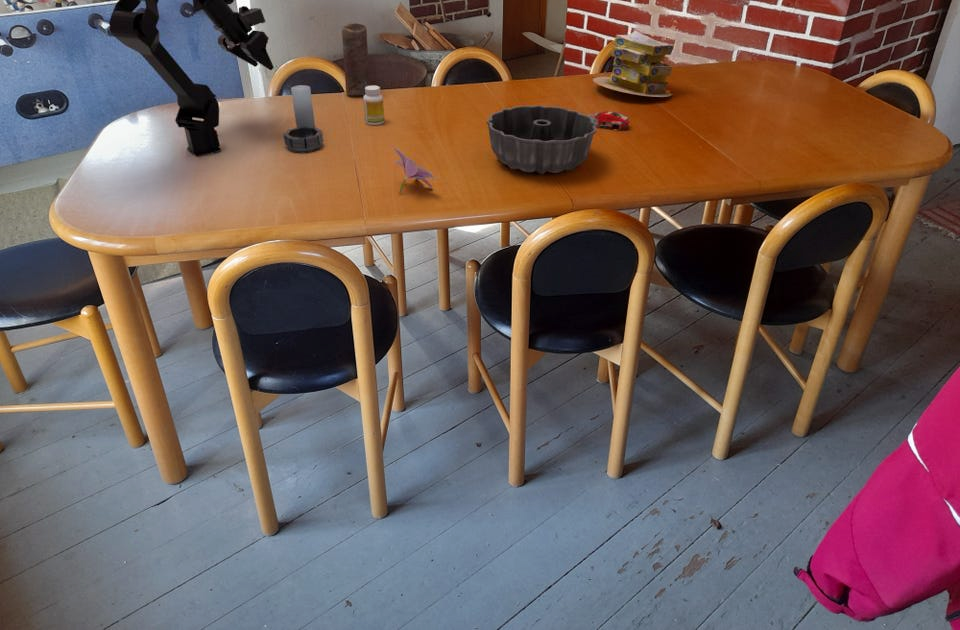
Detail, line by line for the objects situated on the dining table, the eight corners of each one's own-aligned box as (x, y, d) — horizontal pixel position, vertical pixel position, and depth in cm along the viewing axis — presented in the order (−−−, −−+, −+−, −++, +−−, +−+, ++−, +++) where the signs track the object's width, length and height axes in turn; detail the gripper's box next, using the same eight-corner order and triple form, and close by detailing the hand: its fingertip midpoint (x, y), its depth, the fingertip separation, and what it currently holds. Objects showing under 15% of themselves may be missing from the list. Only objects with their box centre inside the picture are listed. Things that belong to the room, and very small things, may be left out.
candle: (373, 91, 217) (368, 23, 205) (368, 99, 211) (362, 29, 199) (349, 90, 217) (343, 22, 206) (343, 97, 211) (336, 28, 200)
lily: (436, 206, 152) (449, 163, 151) (385, 191, 148) (398, 146, 146) (421, 200, 163) (433, 160, 162) (373, 186, 159) (385, 145, 157)
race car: (578, 126, 193) (579, 112, 191) (583, 120, 197) (584, 106, 195) (625, 133, 189) (627, 118, 187) (629, 126, 193) (631, 112, 191)
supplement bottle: (361, 121, 194) (358, 86, 188) (377, 117, 197) (375, 83, 191) (371, 126, 190) (369, 91, 185) (388, 122, 193) (386, 88, 188)
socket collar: (297, 155, 173) (295, 141, 171) (280, 145, 178) (278, 131, 176) (329, 147, 178) (327, 133, 176) (311, 137, 183) (309, 124, 181)
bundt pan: (563, 136, 186) (566, 99, 180) (613, 174, 166) (618, 133, 160) (471, 149, 178) (471, 110, 172) (511, 189, 158) (513, 147, 152)
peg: (303, 137, 183) (296, 92, 176) (294, 132, 186) (287, 87, 179) (319, 133, 186) (313, 88, 179) (310, 129, 189) (304, 84, 182)
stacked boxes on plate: (636, 77, 233) (643, 24, 224) (688, 97, 215) (698, 40, 206) (576, 87, 223) (581, 32, 213) (626, 109, 205) (634, 50, 196)
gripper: (261, -5, 166) (302, 49, 177) (229, -7, 178) (269, 43, 189) (228, 26, 163) (272, 79, 174) (198, 22, 176) (241, 71, 187)
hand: (264, 67), depth 181 cm, fingers open, 9 cm apart
